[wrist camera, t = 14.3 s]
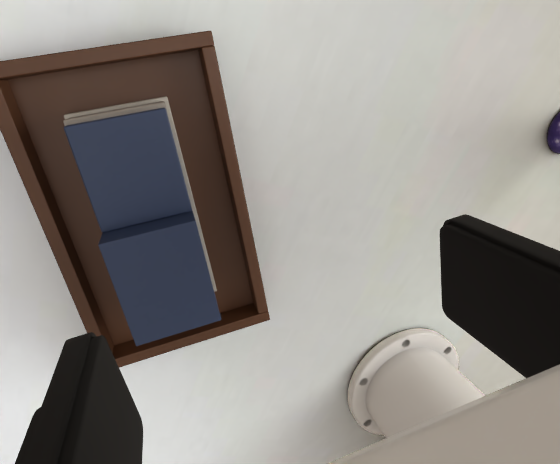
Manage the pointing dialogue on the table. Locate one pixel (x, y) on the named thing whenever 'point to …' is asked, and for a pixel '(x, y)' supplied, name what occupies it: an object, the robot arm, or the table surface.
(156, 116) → the blue stair step block
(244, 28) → the table surface
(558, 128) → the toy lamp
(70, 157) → the tray
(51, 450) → the robot arm
